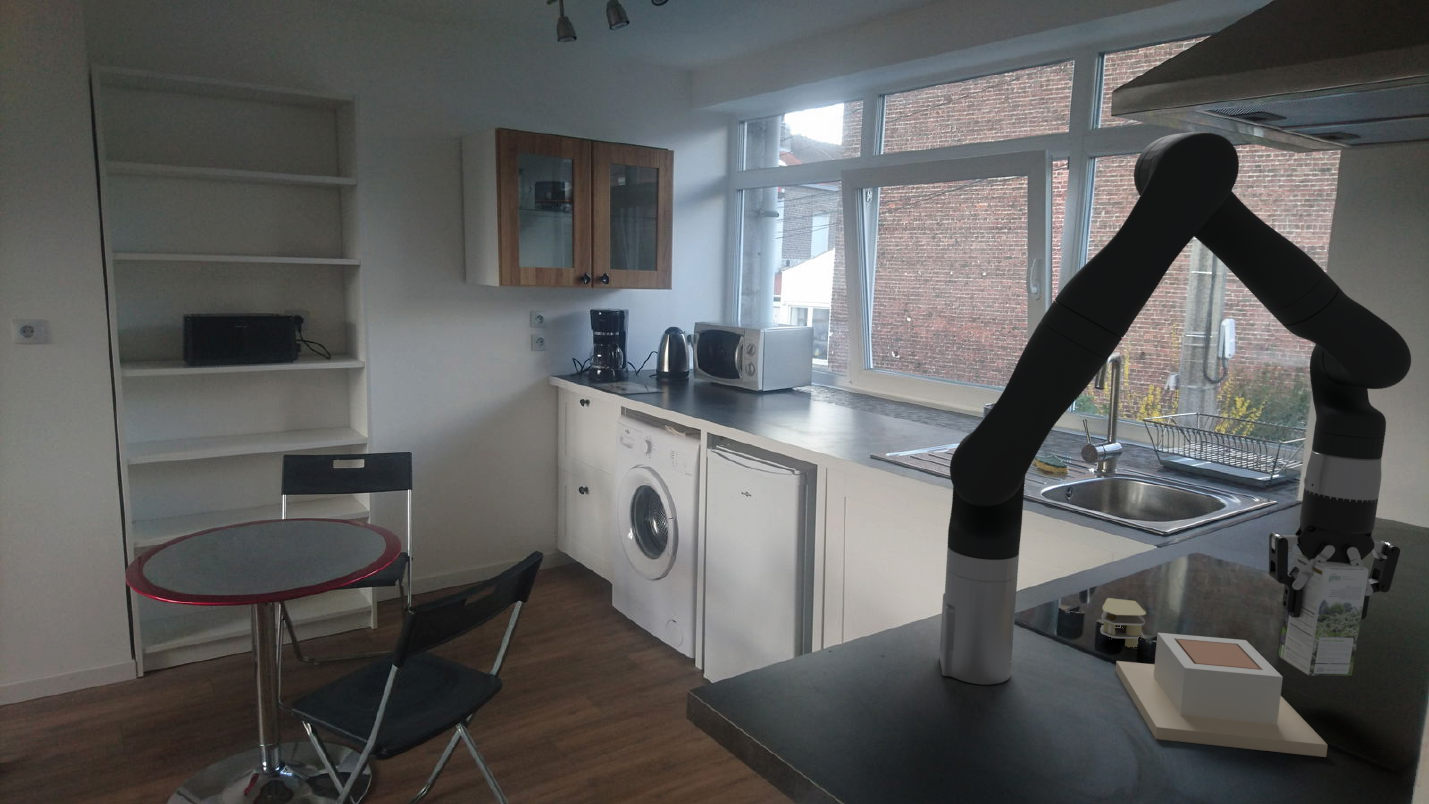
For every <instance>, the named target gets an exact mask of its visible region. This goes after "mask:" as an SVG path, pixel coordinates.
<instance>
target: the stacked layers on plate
mask: <svg viewBox="0 0 1429 804" xmlns="http://www.w3.org/2000/svg"><path fill="white" fill-rule="evenodd" d="M1101 608H1102V611H1103V612H1102V614H1101V620H1102V621H1103V623H1104V625H1102V624H1101V627H1100V628H1099V630H1100V634H1102V635H1105V636H1107V637H1108V638H1109V637H1111V639H1124V641H1123V642H1125V643H1124V647H1126V646H1127V647H1126V648H1130V647H1133V648H1132V649H1135V648H1134V647H1137V644H1138V638H1139V637H1143V638H1144V637H1145V634H1144V632H1143V631H1142V628H1143V626H1144V625H1145V624H1146V620H1145V619H1144V617H1142V616H1144V615H1146V614H1147V612H1146V610H1145V609H1143V607H1141V606H1140V604H1139V603H1137V601H1136V600H1130V599H1129V600H1128V599H1120V598H1112V597H1107V598H1106V599H1105V602H1104V604H1103V605H1102V607H1101ZM1117 625H1119V626H1118V627H1120V625H1121V628H1122V627H1123V628H1124V630H1123V628H1122V630H1119V631H1118V630H1115V627H1117Z"/></svg>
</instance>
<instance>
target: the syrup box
mask: <svg viewBox="0 0 1429 804" xmlns="http://www.w3.org/2000/svg"><path fill="white" fill-rule="evenodd" d="M1299 553H1300V552H1294V553H1293V555H1292V559H1291V567H1292V563H1293V561H1294V560H1295V559H1299V562H1300V563H1302V564H1303V565H1307V564H1308V563H1309V562H1310V561H1309V560H1308V558H1307V557H1305V556H1304V555H1301V554H1299ZM1291 567H1290V568H1291ZM1314 568H1315V569H1314V575H1313V576H1312V577H1310V578H1309V579H1308V581H1307V582H1306V583H1305V585H1304V586H1303V587H1302V588H1301V590H1303V597H1302V604H1301V611H1300V617H1299V618H1295V617H1291V616H1290V615H1289V614H1288V613H1287V612H1286V610H1285V609H1284V616H1283V622H1282V629H1281V634H1280V635H1281V636H1280V642H1279V643H1280V644H1279V650H1278V656H1279V658H1280V659H1282V660H1283V661H1285V662H1287V663H1288V664H1289V665H1292V667H1295V669H1298V670H1299V671H1301V672H1303V673H1304V674H1306V675H1307V676H1317V677H1318V676H1320V677H1321V676H1322V677H1334V676H1337V677H1341V676H1343V677H1350V676H1352V674H1353V669H1354V664H1355V657H1356V651H1357V646H1358V645H1357V644H1358V639H1359V632H1360V627H1361V623H1360V621H1361V622H1362V620H1361V615H1362V609H1363V603H1364V596H1365V591H1366V584H1367V578H1368V579H1369V572H1370V570H1369V569H1368V568H1367V567H1366V566H1364V567H1358V566H1352V565H1350V564H1349V563H1338V562H1327V561H1326V562H1325V563H1318V562H1316V565H1315V566H1314ZM1299 571H1300V570H1299Z"/></svg>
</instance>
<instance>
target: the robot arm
mask: <svg viewBox="0 0 1429 804" xmlns="http://www.w3.org/2000/svg"><path fill="white" fill-rule="evenodd" d="M1239 168H1240V160H1239V155H1238V152H1237V150H1236V148H1235V146H1234V145H1233V143H1232V142H1231V141H1230V140H1229V139H1228V138H1226V137H1225V136H1222V135H1221V134H1218V133H1214V132H1207V131H1191V132H1181V133H1173V134H1169V135H1166V136H1163V137H1160V138H1157V139H1156V140H1153V142H1151V143H1149V144H1148V145H1147V146H1146V147H1145V148H1144V149H1143V150H1142V151H1141V153H1140V154H1139V156H1138V158H1137V160H1136V162H1135V165H1134V170H1133V182H1134V186H1135V190H1136V191H1137V194H1138V195H1139V197H1138V199H1137V201H1136V203H1135V204H1134V206H1133V207H1132V210H1131V211H1130V212H1129V215H1127V217H1126V219H1125V221H1124V222H1123V223H1122V225H1121V227H1120V228H1119V230H1118V231H1116V233H1115V234H1114V236H1113V237H1112V238H1111V239H1110V240H1109V241H1108V242H1107V243H1106V244H1105V245H1104V246H1103V247H1102V248H1101V249H1100V250H1099V251H1098V252H1097V253H1096V254H1095V255H1094V256H1093V257H1092V258H1091V259H1090V260H1088V261H1087V263H1085V264H1084V266H1082V267H1081V268H1080V269H1079V270H1078V271H1077V272H1076V273H1075V274H1074V275H1073V276H1072V277H1071V278H1070V280H1069V281H1067V283H1066V284H1065V285H1064V287H1063V288H1062V289H1061V290H1060V292H1059V293H1058V294H1057V296H1056V297H1055V298H1054V300H1053V301H1052V303H1051V304H1050V305H1049V308H1048V309H1047V310H1046V312H1045V314H1044V315H1043V316H1042V318H1041V320H1040V321H1039V323H1038V324H1037V326H1036V328H1035V329H1034V331H1033V333H1032V335H1031V336H1030V338H1029V340H1028V342H1027V344H1026V345H1025V347H1024V349H1023V351H1022V353H1021V355H1020V357H1019V359H1018V361H1017V363H1016V365H1015V367H1014V369H1013V372H1012V374H1011V376H1010V377H1009V380H1008V382H1007V384H1006V386H1005V388H1004V390H1002V393H1001V395H1000V396H999V397H998V399H997V401H996V402H995V403H994V405H993V406H992V408H990V410H989V412H988V413H987V414H986V415H985V417H984V418H983V419H982V420H981V421H980V423H979V424H978V426H976V428H975V429H974V430H973V431H972V432H970V433H969V434H967V435H966V436H965V437H964V438H962V440H961V441H960V442H959V444H958V446H957V447H956V449H955V451H954V452H953V454H952V456H951V459H950V464H949V476H950V480H951V483H952V499H951V510H950V518H949V523H948V529H947V550H946V569H945V585H944V586H945V587H944V593H943V594H942V607H941V608H942V609H941V623H940V624H941V625H940V627H941V628H940V644H939V662H940V668H941V675H942V676H944V677H952V678H954V679H957V680H959V681H962V682H966V683H969V684H974V685H975V684H976V685H987V686H988V685H998V684H1002V683H1004V682H1007V681H1008V680H1009V679H1010V678H1011V675H1012V665H1013V649H1014V631H1015V617H1016V606H1017V605H1016V601H1017V586H1018V577H1019V575H1018V574H1019V561H1020V560H1019V559H1020V547H1021V536H1022V535H1021V534H1022V525H1023V511H1024V510H1023V509H1024V499H1025V498H1024V495H1025V482H1026V475H1027V472H1028V471H1029V469H1030V467H1031V465H1032V464H1033V461H1034V459H1035V458H1036V456H1037V454H1038V452H1039V451H1040V449H1041V447H1042V445H1043V444H1044V442H1045V441H1046V438H1047V437H1048V436H1049V434H1050V432H1051V431H1052V430H1053V428H1054V427H1055V425H1056V423H1057V422H1059V419H1061V417H1062V416H1063V415H1064V414H1065V413H1066V411H1067V410H1068V409H1069V408H1070V407H1071V406H1072V405H1073V404H1074V402H1075V401H1076V400H1077V399H1078V398H1079V397H1080V395H1081V394H1082V393H1083V392H1084V391H1085V389H1086V388H1087V387H1088V386H1089V384H1090V383H1091V382H1092V381H1093V380H1094V378H1095V377H1096V375H1097V374H1098V373H1099V372H1100V371H1101V369H1102V368H1103V366H1104V365H1105V364H1106V363H1107V361H1108V360H1109V358H1110V357H1111V355H1112V354H1113V353H1114V352H1115V350H1116V349H1117V347H1118V346H1119V344H1120V343H1121V341H1122V339H1123V338H1124V337H1125V336H1126V334H1127V332H1128V331H1129V330H1130V328H1131V326H1132V324H1133V323H1134V321H1135V320H1136V318H1137V317H1138V315H1139V314H1140V313H1141V311H1142V310H1143V308H1144V307H1145V306H1146V304H1147V303H1148V301H1149V299H1150V298H1151V296H1152V295H1153V293H1154V292H1155V291H1156V288H1158V286H1159V284H1160V282H1162V279H1163V278H1164V276H1165V275H1166V273H1167V271H1168V270H1169V269H1170V267H1171V266H1172V265H1173V263H1174V262H1175V260H1176V259H1177V258H1178V256H1180V254H1181V253H1182V252H1183V250H1184V249H1185V248H1186V247H1187V246H1188V244H1189V243H1190V242H1191V241H1192V240H1193V238H1195V239H1197V241H1198V242H1200V243H1201V244H1202V245H1203V246H1204V247H1205V248H1206V249H1208V250H1209V251H1210V253H1212V254H1213V255H1214V256H1215V257H1216V258H1217V259H1218V260H1220V262H1222V263H1223V264H1224V266H1226V268H1228V269H1229V271H1231V273H1232V274H1233V275H1234V276H1235V277H1236V278H1237V279H1238V280H1239V281H1240V283H1241V284H1243V285H1244V286H1245V287H1246V289H1247V290H1249V291H1250V292H1251V294H1252V295H1253V296H1254V297H1255V298H1256V299H1257V300H1258V301H1259V303H1260V304H1262V305H1263V307H1264V308H1266V309H1267V310H1268V312H1270V314H1271V315H1272V316H1273V317H1274V318H1275V319H1276V320H1277V321H1278V322H1279V323H1280V324H1281V325H1282V326H1283V327H1284V328H1285V329H1286V330H1287V331H1288V332H1290V333H1291V334H1293V335H1294V336H1296V337H1298V338H1301V339H1304V340H1306V341H1309V342H1312V343H1314V344H1315V345H1314V346H1313V349H1312V351H1311V355H1310V359H1309V378H1310V387H1311V395H1312V401H1313V405H1314V410H1315V418H1316V419H1315V424H1314V429H1313V438H1312V443H1311V451H1310V456H1309V458H1308V462H1307V465H1306V472H1305V477H1304V479H1303V483H1304V487H1303V494H1302V500H1301V501H1302V502H1301V507H1300V514H1299V515H1300V516H1299V527H1298V529H1297V530H1296V532H1295V533H1294V534H1280V533H1278V532H1275V531H1273V532H1271V533H1270V534H1269V536H1268V575H1269V576H1270V577H1271V578H1272V579H1274V580H1275V581H1276V582H1278V583H1279V584H1283V585H1284V586H1283V588H1284V589H1283V595H1282V603H1281V605H1282V608H1283V610H1284V611H1285V610H1286V612H1287V613H1288V614H1289V615H1290V616H1291V617H1295V618H1299V617H1300V611H1301V604H1302V597H1303V590H1301V588H1302V587H1303V586H1304V585H1305V583H1306V582H1307V581H1308V579H1309V578H1310V577H1312V576H1313V575H1314V569H1315V568H1314V566H1315V565H1316V562H1318V563H1325V562H1326V561H1327V562H1338V563H1349V564H1350V565H1352V566H1358V567H1365V565H1364V562H1363V560H1364V559H1365V558H1366V557H1367V556H1368V555H1369V554H1370V553H1371V552H1372V556H1373V557H1374V560H1373V562H1372V567H1371V570H1370V574H1369V576H1368V578H1367V584H1366V591H1365V596H1364V603H1363V609H1362V615H1361V621H1360V624H1361V623H1362V620H1365V619H1366V618H1367V615H1368V610H1369V609H1368V608H1369V603H1370V597H1371V595H1373V594H1375V593H1378V592H1381V593H1388V592H1389V591H1390V589H1391V586H1392V582H1393V579H1394V576H1395V573H1396V569H1397V565H1398V562H1399V558H1400V555H1401V549H1400V547H1398V546H1396V545H1394V544H1393V543H1391V542H1388V541H1387V540H1381V541H1377V540H1376V541H1375V540H1374V539H1373V536H1372V534H1373V531H1374V529H1375V524H1376V517H1377V516H1376V515H1377V511H1378V510H1377V509H1378V504H1379V503H1378V502H1379V495H1380V489H1381V485H1382V483H1381V482H1382V461H1383V460H1382V458H1383V451H1384V445H1385V437H1386V429H1387V420H1386V417H1385V415H1384V413H1382V412H1381V411H1380V410H1378V409H1377V408H1376V407H1374V406H1373V405H1372V403H1370V399H1369V390H1382V389H1387V388H1391V387H1393V386H1395V385H1397V384H1398V383H1401V381H1403V380H1404V379H1405V378H1406V377H1407V376H1408V374H1409V371H1410V368H1411V366H1412V355H1411V351H1410V348H1409V346H1408V343H1407V341H1405V338H1403V336H1402V335H1401V334H1400V333H1399V332H1398V331H1397V330H1396V329H1395V328H1393V327H1392V326H1391V325H1390V324H1389V323H1388V322H1386V321H1385V320H1384V319H1382V318H1381V317H1379V316H1378V315H1376V314H1375V313H1374V312H1372V311H1371V310H1369V309H1368V308H1367V307H1365V306H1363V305H1362V304H1361V303H1359V302H1357V301H1355V300H1354V299H1353V298H1350V296H1348V295H1347V294H1346V293H1345V292H1344V291H1343V290H1342V288H1340V286H1339V285H1338V284H1337V283H1336V282H1335V281H1334V280H1333V279H1332V278H1331V277H1330V276H1329V274H1327V273H1326V272H1325V271H1324V269H1323V268H1322V267H1321V266H1320V265H1319V264H1318V263H1317V262H1316V261H1315V260H1314V259H1312V257H1311V256H1309V255H1308V253H1306V252H1305V251H1304V250H1302V249H1301V248H1300V246H1297V245H1296V243H1294V242H1292V241H1291V240H1289V239H1288V238H1286V236H1284V235H1283V234H1281V233H1279V232H1278V231H1277V230H1275V229H1274V228H1272V226H1270V225H1269V224H1267V223H1266V221H1263V219H1261V218H1260V217H1258V216H1257V215H1256V214H1255V213H1254V212H1253V211H1252V210H1250V209H1249V208H1248V207H1247V205H1245V203H1243V202H1242V201H1241V200H1240V198H1239V197H1238V196H1237V195H1236V194H1235V193H1234V192H1233V189H1234V186H1235V184H1236V182H1237V179H1238V176H1239ZM1295 545H1296V546H1297V548H1298V549H1299V550H1300V551H1299V552H1298V553H1299V554H1301V555H1304V556H1305V557H1307V558H1308V560H1309V561H1310V562H1309V563H1308V564H1307V565H1303V564H1302V563H1300V562H1299V559H1295V560H1294V561H1293V563H1292V562H1291V565H1292V567H1290V568H1289V553H1290V552H1292V551H1293V548H1294V546H1295ZM1299 570H1300V571H1299Z"/></svg>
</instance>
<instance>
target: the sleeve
mask: <svg viewBox="0 0 1429 804" xmlns="http://www.w3.org/2000/svg"><path fill="white" fill-rule="evenodd" d="M1156 634H1157V637H1156V645H1155V646H1156V647H1155V655H1154V659H1155V660H1154V663H1141V662H1132V661H1120V660H1116V661H1115V662H1116V663H1115V673H1116V674H1117V677H1118V678H1119V680H1120V681H1121V683H1122V685H1123V687H1124V688H1125V690H1126V692H1127V693H1128V695H1129V696H1130V698H1131V700H1132V701H1133V704H1134V705H1135V707H1136V708H1137V710H1138V712H1139V713H1140V715H1141V717H1142V718H1143V721H1144V722H1145V723H1146V725H1147V727H1148V729H1149V730H1150V733H1152V735H1153V737H1154V740H1160V741H1161V740H1162V741H1171V742H1180V743H1181V742H1183V743H1190V744H1200V745H1206V746H1207V745H1210V746H1217V747H1218V746H1219V747H1227V748H1228V747H1229V748H1236V749H1238V748H1239V749H1247V750H1257V751H1268V752H1276V753H1285V754H1294V755H1303V756H1312V757H1322V758H1323V757H1324V758H1326V757H1327V752H1328V747H1329V746H1328V744H1327V742H1325V741H1324V739H1323V738H1322V737H1321V736H1320V735H1319V734H1318V733H1317V732H1316V731H1315V730H1314V729H1313V727H1311V726H1310V724H1308V722H1307V721H1306V720H1304V718H1303V717H1302V716H1301V715H1300V714H1299V713H1298V712H1297V711H1296V709H1294V708H1293V707H1292V706H1291V705H1290V704H1289V702H1287V700H1285V698H1284V697H1283V696H1282V695H1281V694H1282V686H1283V678H1284V677H1283V675H1281V674H1280V672H1278V670H1276V669H1275V668H1274V667H1273V666H1272V665H1271V664H1270V663H1269V661H1268V660H1266V659H1265V658H1264V657H1263V655H1262V654H1260V653H1259V651H1257V650H1256V649H1255V647H1254V646H1253V645H1251V644H1250V642H1248V640H1246V639H1236V638H1225V637H1224V638H1223V637H1213V636H1202V635H1201V636H1200V635H1190V634H1189V635H1188V634H1178V633H1166V632H1157V633H1156ZM1177 640H1189V641H1200V642H1212V643H1223V644H1235V645H1237V646H1238V647H1239V648H1240V649H1241V650H1242V651H1243V652H1244V653H1245V654H1246V655H1247V656H1248V657H1249V658H1250V659H1251V660H1252V661H1253V662H1254V664H1255V665H1256V666H1257V667H1258V668H1259V670H1257V669H1246V668H1235V667H1224V666H1213V665H1202V664H1194V663H1193V662H1192V660H1191V659H1190V658H1189V657H1188V655H1187V654H1186V653H1185V652H1184V651H1183V649H1182V648H1181V647H1180V646H1179V644H1178V643H1177Z"/></svg>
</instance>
